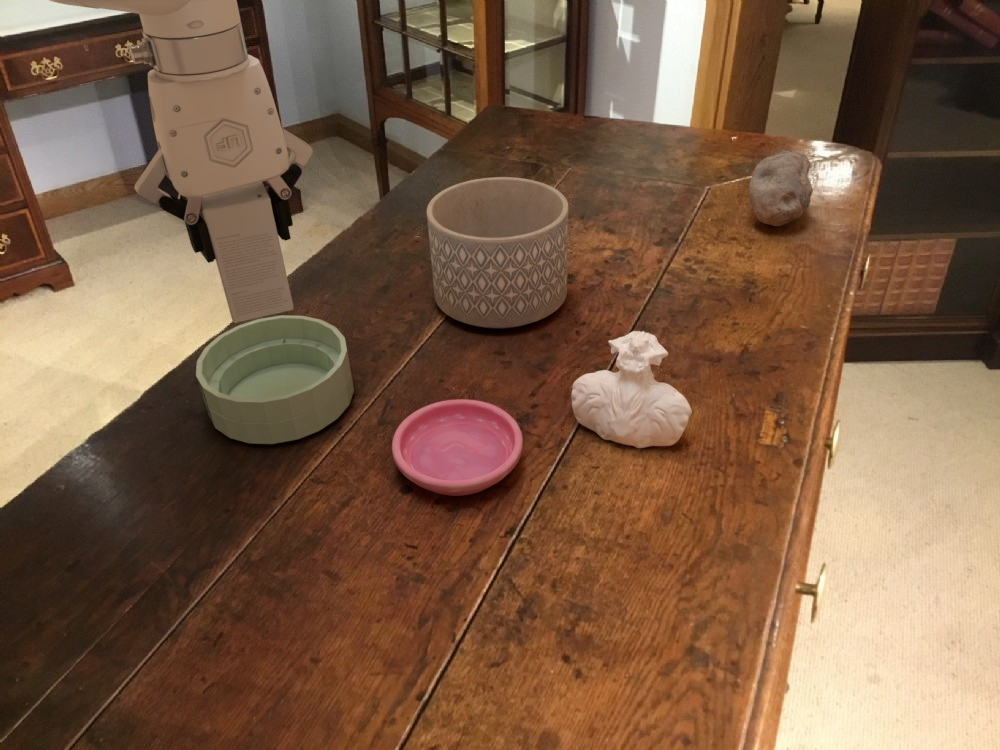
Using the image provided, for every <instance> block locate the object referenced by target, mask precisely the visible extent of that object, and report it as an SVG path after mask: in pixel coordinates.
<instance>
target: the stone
mask: <svg viewBox="0 0 1000 750" xmlns="http://www.w3.org/2000/svg"><path fill="white" fill-rule="evenodd" d="M810 168H811V161H810V159H809V158H808V156H807V155H806V154H805V153H802V152H799V151H791V150H781V151H779V152H776V153H774V154H772V155H769V156H766V157H765V158H762V159H761V161H759V163H757V164H756V166H755V168H754V170H753V171H752V174H751V178H750V180H749V187H748V192H747V193H748V198H749V201H750V205H751V207H752V211H753V213H754V215H755V218H756V219H757V220H758V221H759V222H760V223H762V224H765V225H769V226H773V227H781V226H784V225H787V224H789V223H790V222H792V221H795V220H798V219H799V218H800V217H801V216H802V215H803V213H805V211H806V210H807V209H808V207H809V206H810V204H811V197H812V195H813V191H814V189H813V186H812V184H811V182H810V180H809V177H808V175H809V171H810Z"/></svg>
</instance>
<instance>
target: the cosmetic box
mask: <svg viewBox="0 0 1000 750" xmlns="http://www.w3.org/2000/svg"><path fill="white" fill-rule="evenodd" d="M200 210H201V214H202V216H203V219H204V221H205V223H206V224H207V228H208V232H209V235H210V239H211V243H212V247H213V250H214V254H215V258H216V259H215V262H216V266H217V270H218V274H219V276H220V280H221V285H222V288H223V292H224V295H225V299H226V302H227V306H228V310H229V315H230V318H231V321H232V323H233V324H238V323H241V322H245V321H250V320H251V321H252V320H256V319H260V318H265V317H268V316H274V315H278V314H281V313H286V312H290V311H293V310H294V302H293V297H292V292H291V289H290V284H289V279H288V275H287V271H286V266H285V261H284V256H283V251H282V247H281V243H280V237H279V235H278V233H277V229H276V224H275V220H274V216H273V211H272V205H271V200H270V198H269V196H268V193H267V189H266V187H265V185H264V182H260V183H256V184H252V185H248V186H245V187H241V188H237V189H233V190H229V191H225V192H221V193H217V194H213V195H209V196H205V197H203V199H202V204H201V209H200Z"/></svg>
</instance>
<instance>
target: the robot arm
mask: <svg viewBox="0 0 1000 750" xmlns="http://www.w3.org/2000/svg"><path fill="white" fill-rule="evenodd" d="M49 2H53V3H57V4H62V5H67V6H75V7H80V8H81V7H82V8H89V9H96V10H97V9H99V10H100V9H101V10H108V11H109V10H110V11H117V12H118V11H119V12H125V13H131V14H137V15H139V20H140V23H141V26H142V29H143V30H142V32H141V33H142V37H143V38H141V42H138V43H137V44H136V45H130V46H128V51H129V55H130V59H131V60H132V62H133V64H134V65H136V64H142V63H143V64H144V65H146V64H148V65H149V66H150V67H153V69H150V70H149V71H148V72H147V87H148V98H149V104H150V106H149V107H150V112H151V118H152V124H153V129H154V135H155V138H156V139H155V140H156V143H157V148H158V150H157V151H156V152H155V155H154V156H153V157H152V159H151V160H150V161H149V163H148V165H146V168H144V170H143V172H142V173H141V174H140V176H139V177H138V179H137V181H136V182H135V184H134V186H133V187H134V191H135V192H136V193H137V196H139V197H141V198H142V199H144V200H145V201H147V202H149V203H151V204H153V205H155V206H157V207H159V208H160V209H162V211H164V212H166V213H169V214H170V215H172V216H174V217H176V218H178V219H179V220H182V221H183V222H184V225H185V228H186V232H187V236H188V238H189V239H188V240H189V242H190V246H191V248H192V250H193V252H194V253H195V254H198V253H201V255H202V256H203V258H204V259H205V260H206V262H207V263H208V264H209V263H213V262H215V261H216V258H215V254H214V250H213V247H212V243H211V239H210V235H209V232H208V228H207V224H206V223H205V220H204V217H202V215H201V210H202V209H201V204H202V199H203V197H205V196H209V195H213V194H217V193H221V192H225V191H229V190H233V189H237V188H241V187H245V186H248V185H252V184H256V183H260V182H262V183H264V182H265V183H266V184H267V185H268V188H267V189H266V191H267V193H268V196H269V198H270V200H271V205H272V211H273V216H274V220H275V224H276V229H277V233H278V237H279V239H281V240H284V241H285V242H286V241H290V240H291V233H290V229H289V227H292V226H293V225H294V223H293V217H292V212H291V207H290V201H289V199H290V198H291V196H292V189H294V187H295V185H296V184H297V182H298V181H299V179H300V178H301V176H302V174H303V169H304V168H305V167H306V165H307V164H308V162H309V160H310V159H311V157H312V155H313V153H314V148H313V147H312V146H311V145H310V144H309V143H307V142H306V141H304V140H303V139H301V138H300V137H298V136H296V135H294V134H292V133H291V132H289V131H288V130H286V129H285V128H283V127H282V124H281V121H280V117H279V114H278V110H277V107H276V103H275V100H274V97H273V93H272V90H271V87H270V85H269V81H268V79H267V76H266V73H265V71H264V68H263V66H262V64H261V61H260V60H259V58H257V57H254V56H253V55H251V54H249V53H248V49H247V43H246V39H245V35H244V30H243V25H242V20H241V15H240V10H239V6H238V5H239V4H238V1H237V0H49ZM288 150H289V151H290V155H289V153H288ZM165 177H166V178H167V179H168V180H169V181H171V184H172V185H173V188H174V189H175V190H176V192H177V193H178V196H177V197H176V196H175V195H173V194H171V193H169V192H166V191H164V190H162V189H161V188H160V187H159V186H160V184H161V183H162V181H163V179H165Z"/></svg>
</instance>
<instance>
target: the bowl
mask: <svg viewBox="0 0 1000 750" xmlns="http://www.w3.org/2000/svg"><path fill="white" fill-rule="evenodd" d="M195 368H196V369H195V377H196V381H197V383H198V386H199V390H200V394H201V396H202V399H203V404H204V406H205V409H206V413H207V416H208V418H209V419H210V422H211V423H212V425H213V427H214V428H215V430H217V431H219V432H220V433H222V434H223V435H224V436H226V437H228V438H229V439H231V440H236V441H238V442H243V443H245V444H246V443H247V444H253V445H254V444H256V445H275V444H280V443H281V444H282V443H286V442H292V441H296V440H300V439H302V438H305V437H308V436H310V435H312V434H313V435H314V434H315V433H318V432H320V431H322V430H323V429H324V428H327V426H329V425H331V424H332V423H333V422H334V421H336V420H337V419H339V418H340V416H341V415H342V414H343V413H344V412H345V411H346V410H347V408H348V407H349V406H350V405H351V401H352V398H353V395H354V392H355V387H354V382H353V375H352V370H351V364H350V359H349V353H348V347H347V340H346V338H345V336H344V335H343V334H342V332H341V331H340V330H339V329H338V328H337V327H336V326H334V325H333V324H330V323H329V322H327V321H325V320H323V319H320V318H315V317H310V316H306V315H289V314H288V315H285V314H284V315H283V314H282V315H275V316H274V315H273V316H269V317H268V316H266V317H260V318H256V319H253V320H251V321H247V322H245V323H242V324H239V325H237V326H235V327H233V328H230V329H229V330H227V331H225V332H223V333H221V334H220V335H218V336H217V337H216V338H214V339H213V340H212V341H211V342H210V343H209V344H208V345H207V346H205V347H204V349H203V351H202V352H201V354H200V355H199V357H198V359H197V361H196V366H195Z"/></svg>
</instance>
